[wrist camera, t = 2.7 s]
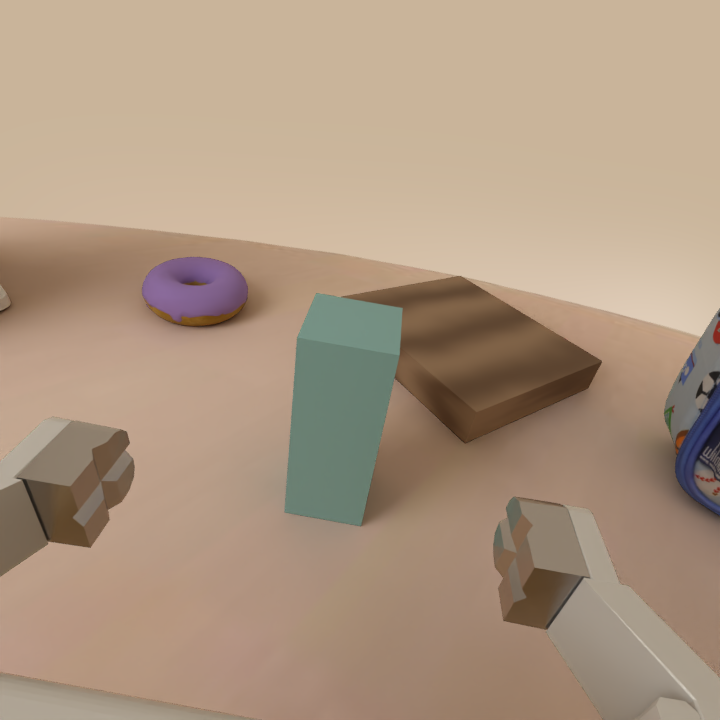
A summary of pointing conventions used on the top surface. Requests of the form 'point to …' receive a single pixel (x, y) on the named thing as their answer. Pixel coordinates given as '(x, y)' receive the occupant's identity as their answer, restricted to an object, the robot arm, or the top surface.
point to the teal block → (340, 405)
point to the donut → (195, 291)
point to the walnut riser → (479, 356)
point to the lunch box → (698, 420)
